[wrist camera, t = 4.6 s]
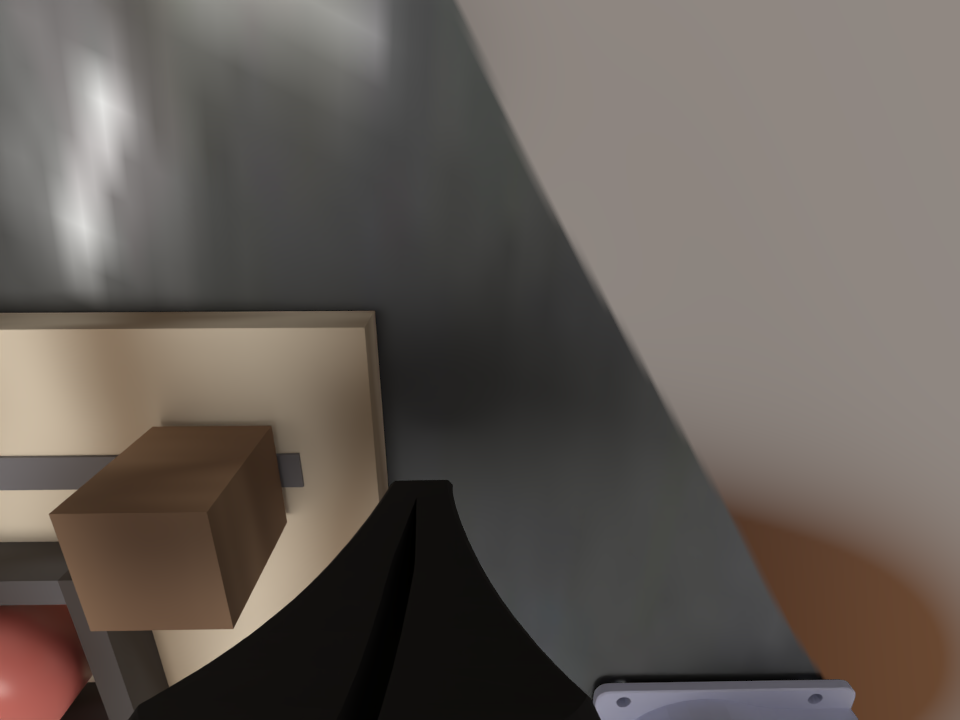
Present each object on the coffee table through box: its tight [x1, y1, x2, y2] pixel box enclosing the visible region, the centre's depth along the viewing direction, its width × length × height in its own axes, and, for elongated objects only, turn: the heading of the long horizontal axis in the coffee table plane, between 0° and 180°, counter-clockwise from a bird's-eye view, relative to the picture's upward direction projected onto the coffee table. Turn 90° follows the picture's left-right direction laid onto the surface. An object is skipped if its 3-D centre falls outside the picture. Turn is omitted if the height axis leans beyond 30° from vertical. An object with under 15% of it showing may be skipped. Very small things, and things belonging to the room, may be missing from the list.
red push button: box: [0, 605, 92, 720], centre depth 15 cm, size 4×4×2 cm
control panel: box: [0, 311, 388, 720], centre depth 16 cm, size 14×18×3 cm
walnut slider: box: [49, 426, 287, 631], centre depth 12 cm, size 3×3×4 cm
